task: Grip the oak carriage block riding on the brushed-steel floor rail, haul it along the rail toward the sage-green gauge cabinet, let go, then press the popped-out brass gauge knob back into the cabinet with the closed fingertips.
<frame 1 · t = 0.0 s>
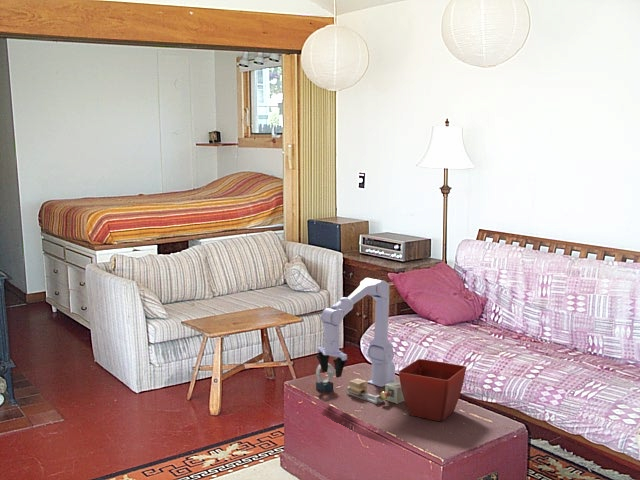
hand: (331, 374, 280), 10 cm above the table, tool pointing down, fingers open, 7 cm apart
rail: (365, 397, 284), on the table
carriage: (358, 386, 286), point 3 cm above the table, slide at 0.0 cm
gauge cabinet: (396, 399, 281), on the table
plant pot: (431, 413, 268), on the table
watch: (324, 390, 293), on the table
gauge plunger: (388, 394, 278), point 3 cm above the table, slide at 3.5 cm
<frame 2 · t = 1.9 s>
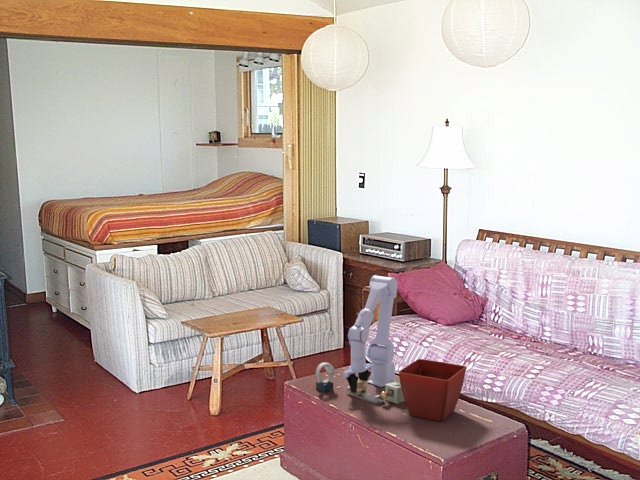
hand: (358, 390, 286), 2 cm above the table, tool pointing down, fingers closed on carriage, 4 cm apart
carriage: (358, 386, 286), point 3 cm above the table, slide at 0.0 cm, touching gripper
everything else where it was.
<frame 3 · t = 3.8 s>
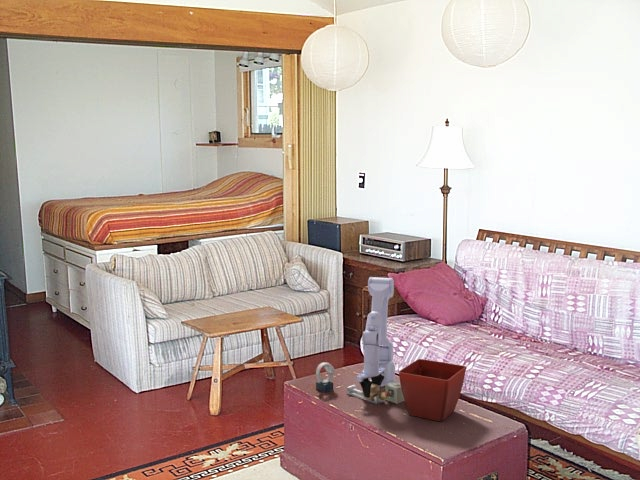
hand: (371, 395, 281), 2 cm above the table, tool pointing down, fingers closed on carriage, 4 cm apart
carriage: (370, 390, 281), point 3 cm above the table, slide at 6.7 cm, touching gripper
everything else where it was.
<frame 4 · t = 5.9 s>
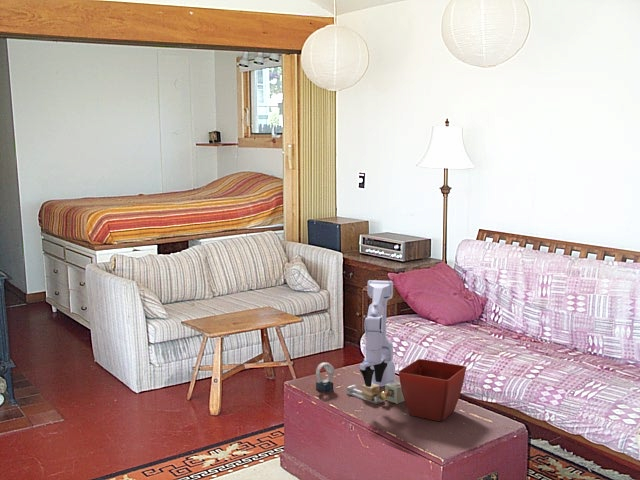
hand: (373, 384, 271), 9 cm above the table, tool pointing down, fingers open, 6 cm apart
carriage: (370, 390, 281), point 3 cm above the table, slide at 6.7 cm
everything else where it was.
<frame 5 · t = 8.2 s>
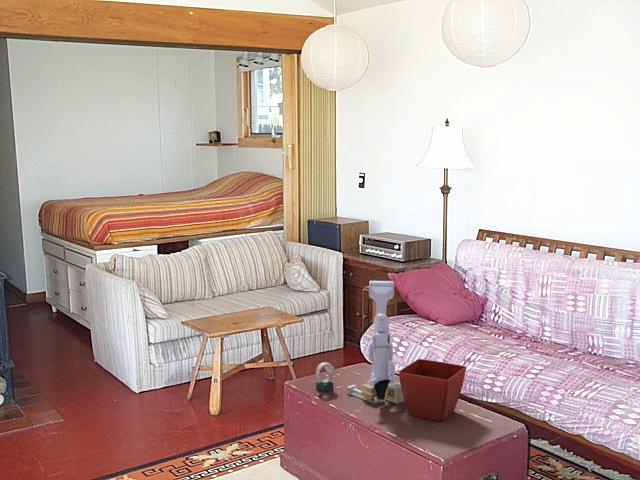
hand: (380, 398, 275), 3 cm above the table, tool pointing down, fingers closed
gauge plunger: (389, 393, 278), point 3 cm above the table, slide at 2.8 cm, touching gripper
everything else where it was.
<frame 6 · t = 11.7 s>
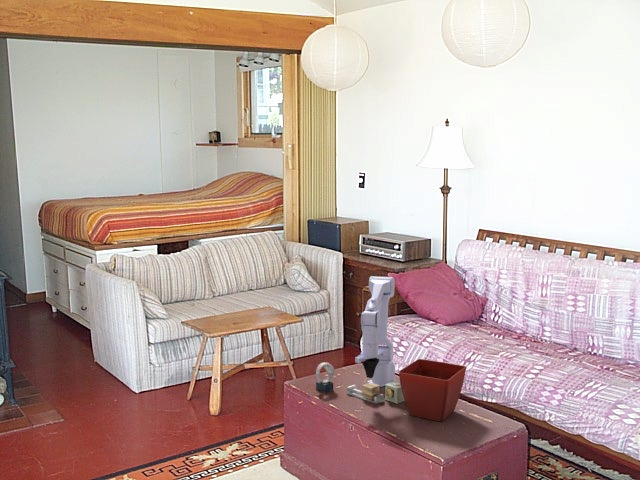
hand: (369, 377, 277), 10 cm above the table, tool pointing down, fingers closed
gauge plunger: (394, 391, 280), point 3 cm above the table, slide at -0.1 cm
everything else where it was.
at the end: carriage slide at 6.7 cm; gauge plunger slide at -0.1 cm; the gripper is holding nothing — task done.
